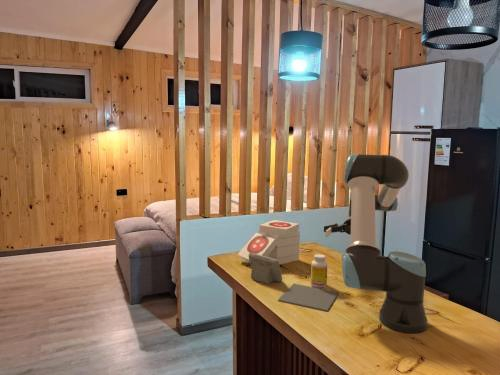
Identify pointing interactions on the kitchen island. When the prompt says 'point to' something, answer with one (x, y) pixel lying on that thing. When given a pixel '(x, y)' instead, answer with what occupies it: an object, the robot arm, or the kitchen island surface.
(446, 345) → the kitchen island surface
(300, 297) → the mat
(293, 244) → the pizza boxes
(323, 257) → the supplement bottle
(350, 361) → the kitchen island surface
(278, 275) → the digital clock
